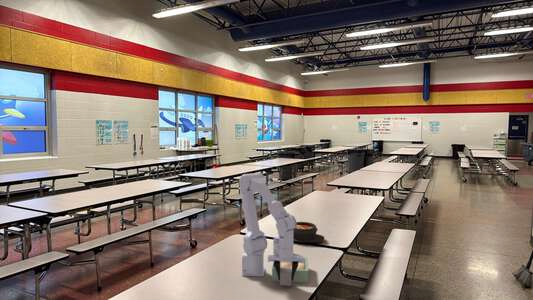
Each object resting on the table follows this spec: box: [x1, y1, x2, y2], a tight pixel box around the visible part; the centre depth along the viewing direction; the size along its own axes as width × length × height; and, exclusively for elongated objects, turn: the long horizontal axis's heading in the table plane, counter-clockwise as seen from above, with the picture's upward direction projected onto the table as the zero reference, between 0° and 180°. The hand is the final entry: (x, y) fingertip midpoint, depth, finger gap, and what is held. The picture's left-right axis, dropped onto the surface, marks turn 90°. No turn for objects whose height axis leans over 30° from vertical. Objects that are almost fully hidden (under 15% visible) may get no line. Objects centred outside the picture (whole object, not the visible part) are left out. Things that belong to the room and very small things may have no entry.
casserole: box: [293, 221, 325, 244], centre depth 187 cm, size 25×19×8 cm
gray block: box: [279, 268, 293, 287], centre depth 130 cm, size 4×4×5 cm
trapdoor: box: [280, 262, 305, 269], centre depth 142 cm, size 12×11×3 cm
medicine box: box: [272, 235, 279, 255], centre depth 166 cm, size 8×4×9 cm, turn 141°
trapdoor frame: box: [271, 256, 309, 284], centre depth 142 cm, size 15×14×6 cm
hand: (285, 279), depth 130 cm, fingers closed on gray block, 4 cm apart
